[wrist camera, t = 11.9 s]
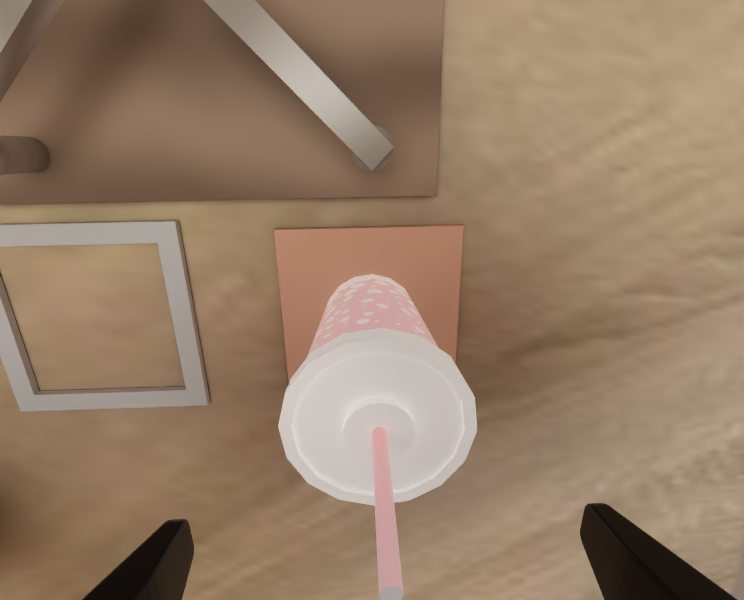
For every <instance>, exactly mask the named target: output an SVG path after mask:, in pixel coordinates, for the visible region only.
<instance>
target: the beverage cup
mask: <svg viewBox="0 0 744 600" xmlns="http://www.w3.org/2000/svg"><path fill="white" fill-rule="evenodd" d="M278 428H279V432H280V435H281V439H282V443H283V446H284V450H285V454H286V457H287V459H288V460H289V461H290V462H291V464H292V465H293V466H294V467H295V468H296V470H297V471H298V472H299V473H300V474H301V476H302V477H303V478H304V479H305V480H306V481H307V483H309V484H310V485H312V486H314V487H316V488H318V489H320V490H322V491H323V492H325V493H327V494H329V495H331V496H333V497H335V498H336V499H338V500H344V501H350V502H356V503H362V504H368V505H375V519H376V540H377V560H378V581H379V597H380V599H381V600H401V599H402V598H403V595H404V593H403V584H402V574H401V564H400V555H399V545H398V535H397V525H396V516H395V506H394V503H395V502H403V501H409V500H412V499H414V498H416V497H418V496H420V495H422V494H424V493H426V492H428V491H430V490H432V489H434V488H436V487H439V486H441V485H442V484H443V483H444V482H445V481H446V480H447V479H448V478H449V477H450V476H451V475H452V474H453V473H454V472H455V471H456V470H457V469H458V468H459V467H460V466H461V465H462V464H463V463H464V462H465V460H466V458H467V455H468V453H469V450H470V448H471V445H472V443H473V440H474V438H475V435H476V433H477V419H476V405H475V397H474V395H473V393H472V391H471V390H470V388H469V386H468V384H467V383H466V381H465V379H464V378H463V376H462V374H461V373H460V371H459V369H458V368H457V366H456V364H455V363H454V361H453V359H452V358H451V356H450V355H448V354H447V353H445V352H444V351H442V350H441V349H439V348H438V346H437V344H436V343H435V341H434V339H433V337H432V335H431V334H430V332H429V330H428V328H427V327H426V325H425V323H424V321H423V319H422V318H421V316H420V314H419V312H418V310H417V309H416V307H415V305H414V303H413V302H412V300H411V298H410V297H409V295H408V293H407V292H406V290H405V288H403V287H402V286H401V285H399V284H398V283H396V282H395V281H394V280H392V279H391V278H387V277H383V276H379V275H374V274H370V275H363V276H357V277H354V278H352V279H350V280H348V281H347V282H345V283H343V284H342V285H340V286H339V287H338V288H337V290H336V291H335V292H334V294H333V295H332V296H331V298H330V299H329V301H328V303H327V306H326V309H325V311H324V314H323V317H322V319H321V322H320V324H319V327H318V330H317V332H316V335H315V337H314V340H313V343H312V345H311V348H310V351H309V353H308V356H307V358H306V359H305V361H304V362H303V363H302V365H301V366H300V367H299V369H298V370H297V371H296V373H295V374H294V375H293V376H292V378H291V379H290V382H289V386H288V387H287V388H286V392H285V396H284V401H283V405H282V410H281V415H280V420H279V424H278Z"/></svg>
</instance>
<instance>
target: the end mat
mask: <svg viewBox="0 0 744 600" xmlns="http://www.w3.org/2000/svg"><path fill="white" fill-rule="evenodd" d="M463 232H464V225H462V224H454V225H408V226H362V227H317V228H275V229H274V237H275V248H276V258H277V268H278V278H279V289H280V299H281V309H282V320H283V330H284V340H285V350H286V361H287V371H288V381H289V382H290V379H291V378H292V376H293V375H294V374H295V373H296V371H297V370H298V369H299V367H300V366H301V365H302V363H303V362H304V361H305V359H306V358H307V356H308V353H309V351H310V348H311V345H312V343H313V340H314V337H315V335H316V332H317V330H318V327H319V324H320V322H321V319H322V317H323V314H324V311H325V309H326V306H327V303H328V301H329V299H330V298H331V296H332V295H333V294H334V292H335V291H336V290H337V288H338V287H339V286H340V285H342V284H343V283H345V282H347V281H348V280H350V279H352V278H354V277H357V276H363V275H370V274H374V275H379V276H383V277H387V278H391V279H392V280H394V281H395V282H396V283H398V284H399V285H401V286H402V287H403V288H405V290H406V292H407V293H408V295H409V297H410V298H411V300H412V302H413V303H414V305H415V307H416V309H417V310H418V312H419V314H420V316H421V318H422V319H423V321H424V323H425V325H426V327H427V328H428V330H429V332H430V334H431V335H432V337H433V339H434V341H435V343H436V344H437V346H438V348H439V349H441V350H442V351H444V352H445V353H447V354H448V355H450V356H451V358H452V359H453V361H454V363H455V364H456V348H457V331H458V315H459V298H460V282H461V265H462V248H463Z"/></svg>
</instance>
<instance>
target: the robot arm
mask: <svg viewBox="0 0 744 600" xmlns="http://www.w3.org/2000/svg"><path fill="white" fill-rule="evenodd" d="M580 536H581V540H582V543H583V546H584V549H585V551H586V554H587V556H588V559H589V561H590V564H591V566H592V569H593V572H594V574H595V577H596V579H597V582H598V584H599V587H600V590H601V592H602V595H603V597H604V600H737V599H735V598H734V597H733V596H732V595H730V594H729V593H728V592H726V591H725V590H723V589H722V588H721V587H719V586H718V585H717V584H715V583H714V582H712V581H711V580H710V579H708V578H707V577H706V576H704V575H703V574H702V573H700V572H699V571H697V570H696V569H695V568H693V567H692V566H691V565H689V564H688V563H687V562H685V561H684V560H682V559H681V558H680V557H678V556H677V555H676V554H674V553H673V552H671V551H670V550H669V549H667V548H666V547H665V546H663V545H662V544H661V543H659V542H658V541H656V540H655V539H654V538H652V537H651V536H650V535H648V534H647V533H646V532H644V531H643V530H641V529H640V528H639V527H637V526H636V525H635V524H633V523H632V522H631V521H629V520H628V519H626V518H625V517H624V516H622V515H621V514H620V513H618V512H617V511H615V510H614V509H613V508H611V507H610V506H609V505H607V504H604V503H592V504H587V505H586V506H585V509H584V514H583V519H582V523H581V528H580ZM193 554H194V544H193V539H192V535H191V530H190V526H189V522H188V521H187V520H186V519H173V520H168V521H166V522H165V523H164V524H163V525H162V526H161V527H159V528H158V529H157V530H156V531H155V532H154V533H153V534H152V535H151V536H150V537H149V538H148V539H147V540H146V541H144V542H143V543H142V544H141V545H140V546H139V547H138V548H137V549H136V550H135V551H134V552H133V553H132V554H130V555H129V556H128V557H127V558H126V559H125V560H124V561H123V562H122V563H121V564H120V565H119V566H118V567H117V568H115V569H114V570H113V571H112V572H111V573H110V574H109V575H108V576H107V577H106V578H105V579H104V580H103V581H101V582H100V583H99V584H98V585H97V586H96V587H95V588H94V589H93V590H92V591H91V592H90V593H89V594H87V595H86V596H85V597H84V598H83V599H82V600H182V597H183V593H184V589H185V586H186V582H187V578H188V574H189V571H190V567H191V563H192V559H193Z"/></svg>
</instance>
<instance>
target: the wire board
mask: <svg viewBox="0 0 744 600" xmlns="http://www.w3.org/2000/svg"><path fill="white" fill-rule="evenodd" d="M443 13H444V0H0V205H1V204H51V203H101V202H151V201H201V200H251V199H301V198H351V197H401V196H437V176H438V149H439V121H440V94H441V67H442V40H443Z"/></svg>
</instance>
